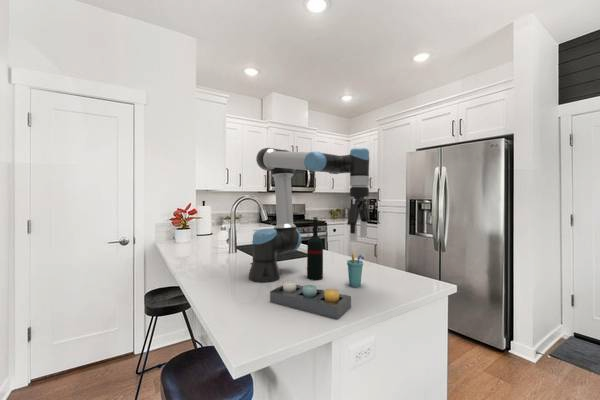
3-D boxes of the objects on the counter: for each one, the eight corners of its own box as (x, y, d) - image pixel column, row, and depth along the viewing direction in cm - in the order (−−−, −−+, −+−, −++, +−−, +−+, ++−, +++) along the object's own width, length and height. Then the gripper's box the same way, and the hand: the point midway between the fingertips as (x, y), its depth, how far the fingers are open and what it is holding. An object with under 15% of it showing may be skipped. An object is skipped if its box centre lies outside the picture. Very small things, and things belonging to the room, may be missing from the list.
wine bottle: (316, 273, 145) (317, 216, 144) (325, 279, 135) (326, 217, 135) (302, 275, 142) (303, 216, 141) (310, 281, 132) (311, 218, 132)
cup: (370, 290, 120) (371, 255, 120) (354, 291, 119) (354, 256, 118) (356, 280, 134) (357, 249, 134) (341, 281, 132) (341, 250, 132)
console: (269, 301, 106) (270, 291, 106) (287, 292, 117) (287, 283, 117) (337, 319, 92) (337, 307, 92) (350, 307, 102) (351, 296, 102)
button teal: (300, 297, 103) (300, 287, 103) (307, 293, 108) (307, 284, 108) (312, 300, 101) (312, 290, 101) (319, 295, 105) (319, 286, 105)
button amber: (321, 302, 99) (321, 292, 99) (328, 297, 103) (328, 288, 103) (335, 305, 96) (335, 295, 96) (341, 300, 100) (341, 290, 100)
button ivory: (280, 292, 108) (280, 283, 108) (287, 288, 113) (287, 280, 112) (291, 295, 105) (291, 286, 105) (298, 291, 110) (298, 282, 110)
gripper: (359, 185, 100) (358, 244, 101) (376, 187, 122) (375, 236, 122) (339, 186, 104) (338, 242, 104) (359, 187, 126) (358, 234, 126)
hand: (358, 239), depth 113 cm, fingers open, 13 cm apart
